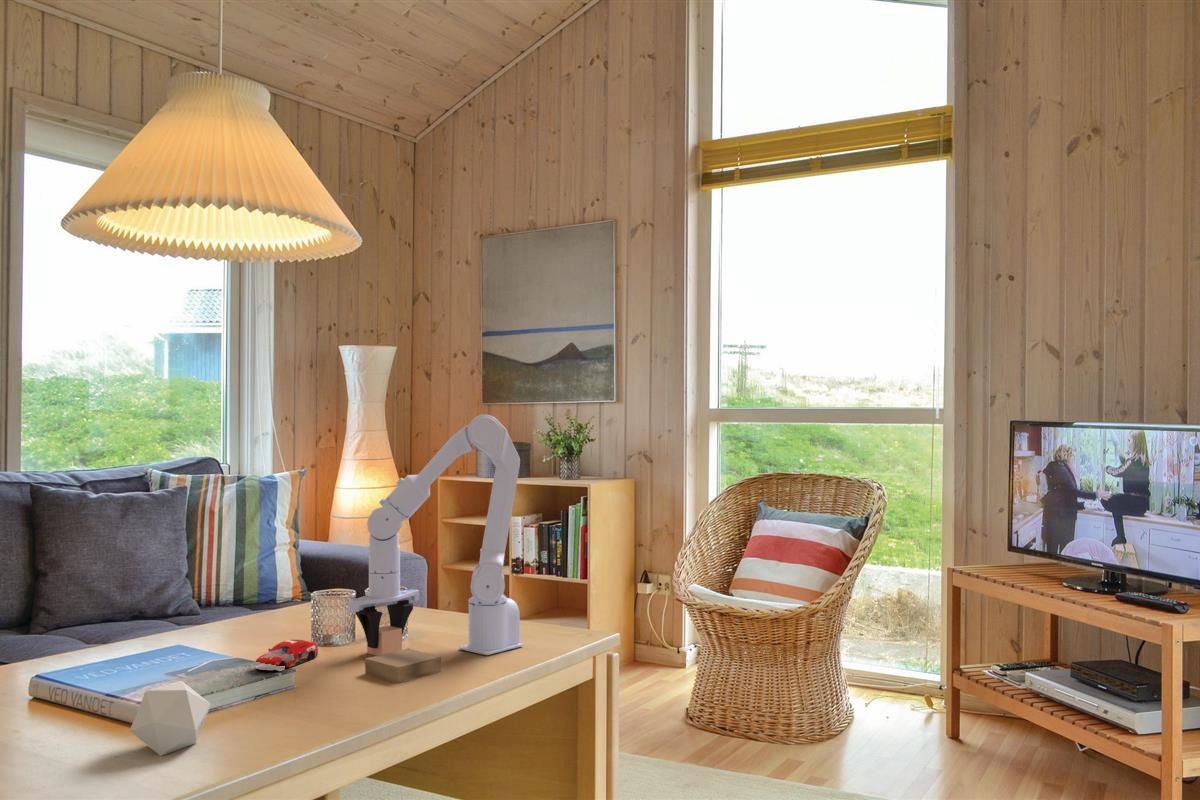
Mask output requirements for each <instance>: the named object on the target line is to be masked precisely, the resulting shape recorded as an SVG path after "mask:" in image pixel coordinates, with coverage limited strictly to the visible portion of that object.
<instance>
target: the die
mask: <svg viewBox="0 0 1200 800" xmlns="http://www.w3.org/2000/svg"><path fill="white" fill-rule="evenodd" d="M211 706H212V703H210V702H209V701H208V700H207V699H205V698H204V697H202V695H200V694H199V693H198V692H196V691H195V690H194V689H193V688H191V687H190V686H189V685H188V684H186V683H185V682H184V681H182V680H179V681H175V682H172V683H168V684H164V685H160V686H157V687H152V688H150V689H147V690H145V692H144V694H143V697H142V699H141V701H140V704H139V707H138V709H137V712H136V714H135V717H134V718H133V721H132V724H131V726H130V729H129V732H130V733H131V734H133V735H134V736H135V737H136V738H138V740H140V741H141V742H143V743H144V744H145V745H146V746H147V747H149V748H150V749H152V750H153V752H155V753H156V754H158V755H159V756H165V755H167V754H170V753H173V752H175V751H179V750H181V749H185V748H187V747H189V746H192V745H195V744H197V741H198V739H199V737H200V734H201V731H202V729H203V726H204V723H205V721H206V718H207V715H208V714H209V710H210V707H211Z"/></svg>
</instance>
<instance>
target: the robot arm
mask: <svg viewBox="0 0 1200 800" xmlns="http://www.w3.org/2000/svg"><path fill="white" fill-rule="evenodd" d="M474 447H476V448H478V449H479V450H481V452H484V453H485V454H486V456H487V458H488V459H489V460H490V461H491V463H492V464H493V465H494V467H495V470H494V474H493V475H494V476H493V480H492V481H493V482H492V485H491V492H490V498H489V504H488V510H487V515H486V522H485V528H484V532H483V538H482V545H481V551H480V556H479V562H478V563H477V566H476V567H475V568H474V569H473V572H472V573H471V582H470V586H469V587H470V592H471V595H472V596H471V597H469V598H468V643H467V644H463V645H460V646H458V649H459V650H462V651H466V652H471V653H475V654H478V655H484V656H489V655H494V654H498V653H502V652H505V651H509V650H512V649H517V648H520V647H523V645H524V644H523V643H522V642H520V641H521V640H520V639H521V638H520V637H521V635H520V633H521V632H520V631H521V629H520V627H521V625H520V624H521V622H520V616H521V615H520V609H519V605H518V604H517V602H516V601H515V600H513V599H512V598H509V597H507V596H506V595H505V594H504V592H505V589H506V584H505V573H504V571H503V568H504V564H505V553H506V547H507V543H508V537H509V536H508V535H509V532H510V531H509V530H510V525H511V519H512V514H513V513H512V512H513V507H514V502H515V497H516V496H515V494H516V489H517V485H518V478H519V473H520V465H521V458H520V456H519V453H518V451H517V450H516V447H515V445H514V442H513V440H512V438H511V436H510V434H509V432H508V430H507V428H506V427H505V426H504V425H503V424H502V423H501V422H500V421H499V420H498V419H497V417H494V416H493V415H490V414H487V413H486V414H479V415H477V416H475V417H474V418H472V419H471V421H470V422H469V424H468V425H465V426H463V427H462V428H461V429H459V430H458V431H457V432H456V433H455V434H453V435H452V436H450V438H449V439H448V440H447V441H446V442H445V444H444V445H443V446H442V447H441V448H440V449H438V451H437V452H436V454H434V456H432V458H431V459H430V461H429V462H428V463H427V464H425V466H424V467H423V468H422V469H421V471H419V473H418V474H408V475H406V477H404V478H403V477H400V478H399V479H398V480H397V481H396V484H397V486H396V487H395V488H394V489H393V490H392V491H391V492H390V493H389V495H387V497H385V498H383V497H382V498H381V500H379V502H378V503H379V504H380V505H381V506H380V507H378V508H375V509H373V510H372V512H371V513H370V515H369V516H368V519H367V521H366V522H367V523H366V526H367V530H368V532H369V534H370V535H369V538H368V539H369V546H368V594H367V595H363V596H361V597H358V598H354V599H348V603H347V604H348V607H347V609H348V612H352V613H355V616H356V617H357V618H358V621H359V622H360V624H361V625H360V626H361V627H362V629H363V632H364V635H365V640H366V645H367V644H368V647H370V648H374V649H375V648H378V641H379V627H380V626H381V625H380V624H381V619H382V615H383V612H382V611H378V610H377V608H379V607H385V606H386V607H387V612H388V617H389V626H393V627H398V628H402V636H403V634H404V631H405V627H406V625H407V621H408V619H409V616H410V615H411V613H412V612H413V610H414V603H410V602H416V601H419V600H420V593H419V592H420V590H419V589H413V588H412V589H411V588H410V589H405V590H401V546H400V533H399V531H400V529H401V527H402V526H403V522H405V521H408V520H409V519H410V518H411V517H412V516H413V515H414V514H415V512H417V511H418V509H420V507H421V506H423V504H424V503H425V502H426V501H427V500H428V499H429V498H430V496H431V485H432V484H433V483H434V481H436V479H438V478H439V476H441V475H442V474H443V472H444V471H446V469H447V468H448V467H450V465H451V464H452V463H453V462H454V461H455V460H456V459H457V458H458V457H459V456H461V455H464V454H467V453H470V452H472V451H474Z"/></svg>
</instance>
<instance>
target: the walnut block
mask: <svg viewBox="0 0 1200 800" xmlns="http://www.w3.org/2000/svg"><path fill="white" fill-rule="evenodd" d="M441 661H442V656H439V655H437V654H436V655H435V654H430V653H427V652H424V651H423V652H422V651H419V650H415V649H410V648H406V649H402V650H400V651H396V652H391V653H387V654H383V655H379V656H376V655H374V656H371V657H366V658H364V664H365V669H364V674H365V675H367V676H368V675H369V676H372V677H374V678H375V677H376V678H377V679H382V680H386V681H389V682H392V681H393V682H392V683H395V682H396V684H401V683H404V682H405V683H406V682H409V681H411V680H415V679H420V678H422V677H423V678H425V677H427V676H431V675H434V674H438V673H441V672H442V671H441V670H442V669H441V667H442V662H441Z"/></svg>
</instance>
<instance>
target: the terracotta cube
mask: <svg viewBox="0 0 1200 800" xmlns="http://www.w3.org/2000/svg"><path fill="white" fill-rule="evenodd" d="M366 647H367V648H366V654H370V655H374V656H379V655H383V654H387V653H391V652H396V651H400V650H403V635H402V628H398V627H393V626H390V624H386V625H385V624H384V625H379V641H378V648H375V649H374V648H370V647H368V644H367V643H366Z"/></svg>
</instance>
